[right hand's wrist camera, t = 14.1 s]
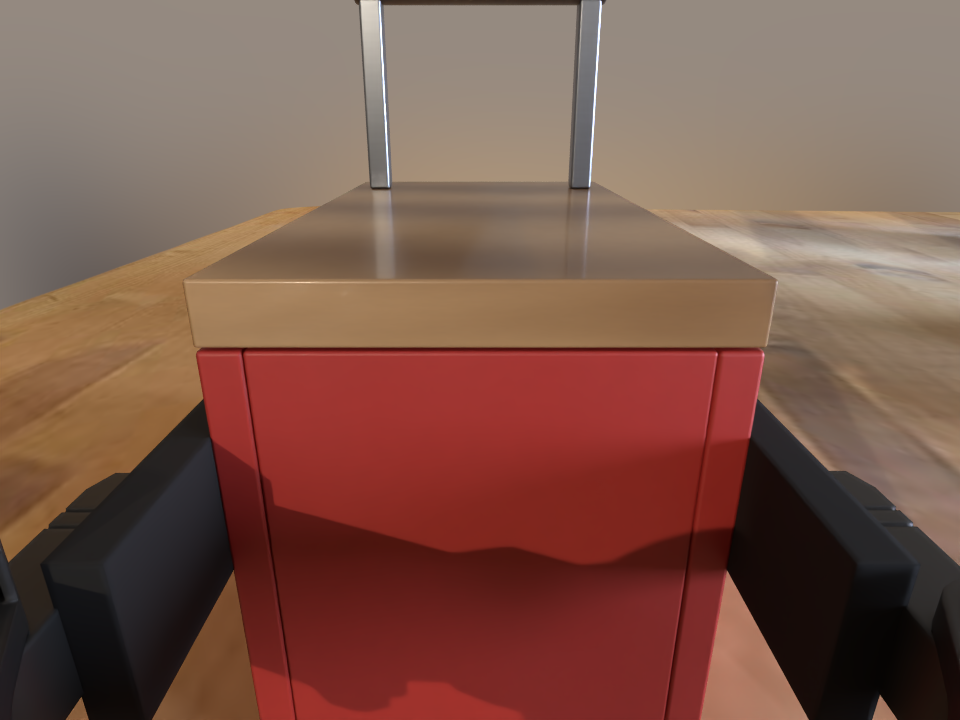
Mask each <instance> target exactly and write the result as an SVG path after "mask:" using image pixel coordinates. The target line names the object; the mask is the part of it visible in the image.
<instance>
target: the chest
mask: <svg viewBox="0 0 960 720" xmlns="http://www.w3.org/2000/svg"><path fill="white" fill-rule="evenodd" d="M764 357H765V356H764V352H763V351H762V350H761V349H760V348H201V349H200V350H198V351H197V354H196V358H197V364H198V370H199V375H200V381H201V387H202V392H203V398H204V404H205V409H206V415H207V421H208V426H209V432H210V437H211V443H212V449H213V454H214V460H215V466H216V471H217V477H218V483H219V488H220V494H221V500H222V506H223V511H224V517H225V523H226V528H227V534H228V540H229V545H230V551H231V557H232V562H233V568H234V574H235V580H236V586H237V591H238V597H239V603H240V608H241V614H242V620H243V625H244V631H245V637H246V642H247V648H248V654H249V659H250V665H251V671H252V676H253V682H254V688H255V693H256V699H257V705H258V710H259V716H260V720H700V719H701V713H702V708H703V702H704V696H705V691H706V685H707V680H708V674H709V668H710V663H711V657H712V651H713V646H714V640H715V634H716V629H717V623H718V617H719V612H720V606H721V600H722V595H723V589H724V583H725V578H726V572H727V566H728V561H729V555H730V549H731V544H732V538H733V532H734V527H735V521H736V515H737V510H738V504H739V498H740V493H741V487H742V481H743V476H744V470H745V464H746V459H747V453H748V447H749V442H750V436H751V430H752V425H753V419H754V413H755V408H756V402H757V397H758V391H759V385H760V380H761V374H762V368H763V363H764Z"/></svg>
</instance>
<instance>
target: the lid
mask: <svg viewBox="0 0 960 720" xmlns="http://www.w3.org/2000/svg"><path fill="white" fill-rule="evenodd" d="M605 2H606V0H355V3H356V4H358V5H359V14H360V30H361V46H362V62H363V79H364V95H365V111H366V127H367V144H368V160H369V176H370V182H365V183H364V184H362V185H360V186H358V187H356V188H354V189H352V190H350V191H349V192H347V193H345V194H343V195H341V196H339V197H337V198H336V199H334V200H332V201H330V202H328V203H326V204H324V205H322V206H321V207H319V208H317V209H315V210H313V211H311V212H309V213H307V214H306V215H304V216H302V217H300V218H298V219H296V220H294V221H292V222H291V223H289V224H287V225H285V226H283V227H281V228H279V229H277V230H276V231H274V232H272V233H270V234H268V235H266V236H264V237H262V238H261V239H259V240H257V241H255V242H253V243H251V244H249V245H247V246H246V247H244V248H242V249H240V250H238V251H236V252H234V253H233V254H231V255H229V256H227V257H225V258H223V259H221V260H219V261H218V262H216V263H214V264H212V265H210V266H208V267H206V268H204V269H203V270H201V271H199V272H197V273H195V274H193V275H191V276H189V277H188V278H186V279H184V280H183V287H184V293H185V299H186V304H187V310H188V316H189V321H190V327H191V333H192V338H193V344H194V346H195V347H198V348H764V347H766V346H767V343H768V338H769V332H770V326H771V321H772V315H773V310H774V304H775V298H776V293H777V287H778V280H777V279H775V278H773V277H771V276H769V275H768V274H766V273H764V272H762V271H760V270H758V269H756V268H754V267H753V266H751V265H749V264H747V263H745V262H743V261H741V260H739V259H738V258H736V257H734V256H732V255H730V254H728V253H726V252H724V251H723V250H721V249H719V248H717V247H715V246H713V245H711V244H709V243H708V242H706V241H704V240H702V239H700V238H698V237H696V236H694V235H693V234H691V233H689V232H687V231H685V230H683V229H681V228H679V227H678V226H676V225H674V224H672V223H670V222H668V221H666V220H664V219H663V218H661V217H659V216H657V215H655V214H653V213H651V212H649V211H648V210H646V209H644V208H642V207H640V206H638V205H636V204H634V203H632V202H631V201H629V200H627V199H625V198H623V197H621V196H619V195H618V194H616V193H614V192H612V191H610V190H608V189H606V188H604V187H603V186H601V185H599V184H597V183H595V182H591V169H592V152H593V136H594V120H595V104H596V88H597V72H598V56H599V39H600V23H601V7H602V5H603V4H604V3H605ZM383 5H577V21H576V42H575V61H574V82H573V102H572V122H571V142H570V162H569V182H392V172H391V152H390V131H389V111H388V91H387V70H386V50H385V30H384V9H383Z"/></svg>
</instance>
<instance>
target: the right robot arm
mask: <svg viewBox="0 0 960 720" xmlns="http://www.w3.org/2000/svg"><path fill="white" fill-rule="evenodd" d="M233 570H234V568H233V562H232V557H231V551H230V545H229V540H228V534H227V528H226V523H225V517H224V511H223V506H222V500H221V494H220V488H219V483H218V477H217V471H216V466H215V460H214V454H213V449H212V443H211V437H210V432H209V426H208V421H207V415H206V409H205V404H204V399H203V400H202V401H201V402H200V403H199V404H198V405H197V406H196V407H195V408H194V409H193V410H192V411H191V412H190V413H189V414H188V415H187V416H186V417H185V418H184V419H183V420H182V421H181V422H180V423H179V424H178V425H177V426H176V427H175V428H174V429H173V430H172V431H171V432H170V433H169V434H168V435H167V436H166V437H165V438H164V439H163V440H162V441H161V442H160V443H159V444H158V445H157V446H156V447H155V448H154V449H153V450H152V451H151V452H150V453H149V454H148V455H147V456H146V457H145V458H144V459H143V460H142V462H141V463H140V464H139V465H138V466H137V467H136V468H135V469H134V470H133V471H132V472H131V473H115V474H113V475H111V476H109V477H108V478H106V479H104V480H102V481H101V482H99V483H97V484H95V485H93V486H92V487H90V488H88V489H86V490H85V491H84V492H83V493H82V494H81V495H80V496H79V497H78V498H77V499H76V500H75V501H74V502H72V503H71V504H70V505H69V506H68V507H67V508H66V512H65V513H61V514H60V515H59V516H58V517H56V518H55V519H54V520H53V521H52V522H51V523H50V524H49V528H48V529H44V530H43V531H42V532H41V533H39V534H38V535H37V536H36V537H35V538H34V539H33V540H32V541H31V542H30V543H29V544H28V545H27V546H26V547H25V548H23V549H22V550H21V551H20V552H19V553H18V554H17V555H16V556H15V557H14V558H13V559H12V560H11V561H10V562H9V563H8V561H7V558H6V555H5V552H4V549H3V546H2V543H1V540H0V720H66V718H67V717H68V715H69V714H70V712H71V711H72V710H73V708H74V707H75V705H76V704H77V702H78V701H79V699H80V698H81V697H82V699H83V702H84V706H85V709H86V712H87V715H88V718H89V720H152V718H153V716H154V715H155V713H156V711H157V709H158V707H159V706H160V704H161V702H162V700H163V698H164V696H165V695H166V693H167V691H168V689H169V687H170V685H171V684H172V682H173V680H174V678H175V676H176V674H177V673H178V671H179V669H180V667H181V665H182V663H183V662H184V660H185V658H186V656H187V654H188V652H189V651H190V649H191V647H192V645H193V643H194V641H195V640H196V638H197V636H198V634H199V632H200V631H201V629H202V627H203V625H204V623H205V621H206V620H207V618H208V616H209V614H210V612H211V610H212V609H213V607H214V605H215V603H216V601H217V599H218V598H219V596H220V594H221V592H222V590H223V588H224V587H225V585H226V583H227V581H228V579H229V577H230V576H231V574H232V572H233ZM727 571H728V573H729V574H730V576H731V578H732V580H733V582H734V584H735V585H736V587H737V589H738V591H739V593H740V595H741V596H742V598H743V600H744V602H745V604H746V605H747V607H748V609H749V611H750V613H751V615H752V616H753V618H754V620H755V622H756V624H757V626H758V627H759V629H760V631H761V633H762V635H763V637H764V638H765V640H766V642H767V644H768V646H769V648H770V649H771V651H772V653H773V655H774V657H775V659H776V660H777V662H778V664H779V666H780V668H781V669H782V671H783V673H784V675H785V677H786V679H787V680H788V682H789V684H790V686H791V688H792V690H793V691H794V693H795V695H796V697H797V699H798V701H799V702H800V704H801V706H802V708H803V710H804V712H805V713H806V715H807V717H808V719H809V720H872V718H873V715H874V711H875V708H876V705H877V702H878V699H879V696H880V695H881V696H882V698H883V699H884V701H885V702H886V704H887V705H888V707H889V708H890V709H891V711H892V712H893V714H894V715H895V717H896V718H897V720H960V566H959V565H958V564H957V563H956V562H955V561H953V560H952V559H951V558H950V557H949V556H948V555H947V554H946V553H945V552H944V551H943V550H942V549H941V548H939V547H938V546H937V545H936V544H935V543H934V542H933V541H932V540H931V539H930V538H929V537H928V536H927V535H926V534H924V533H923V532H922V531H921V530H920V529H919V528H918V527H913V522H912V521H911V520H909V519H908V518H907V517H906V516H905V515H904V514H903V513H902V512H901V511H900V510H896V506H894V505H893V504H892V503H891V502H890V501H889V500H888V499H887V498H886V497H885V496H884V495H883V494H882V493H881V492H879V491H878V490H877V489H876V488H875V487H873V486H872V485H870V484H868V483H866V482H864V481H863V480H861V479H859V478H857V477H855V476H854V475H852V474H850V473H848V472H846V471H828V470H827V469H826V468H825V467H824V466H823V465H822V464H821V463H820V462H819V461H818V460H817V459H816V458H815V457H814V456H813V455H812V454H811V453H810V452H809V451H808V450H807V449H806V448H805V447H804V446H803V445H802V444H801V443H800V442H799V441H798V440H797V439H796V438H795V437H794V435H793V434H792V433H791V432H790V431H789V430H788V429H787V428H786V427H785V426H784V425H783V424H782V423H781V422H780V421H779V420H778V419H777V418H776V417H775V416H774V415H773V414H772V413H771V412H770V411H769V410H768V409H767V408H766V407H765V406H764V405H763V404H762V403H761V402H760V401H759V400H758V399H757V402H756V408H755V413H754V419H753V425H752V430H751V436H750V442H749V447H748V453H747V459H746V464H745V470H744V476H743V481H742V487H741V493H740V498H739V504H738V510H737V515H736V521H735V527H734V532H733V538H732V544H731V549H730V555H729V561H728V566H727Z"/></svg>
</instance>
